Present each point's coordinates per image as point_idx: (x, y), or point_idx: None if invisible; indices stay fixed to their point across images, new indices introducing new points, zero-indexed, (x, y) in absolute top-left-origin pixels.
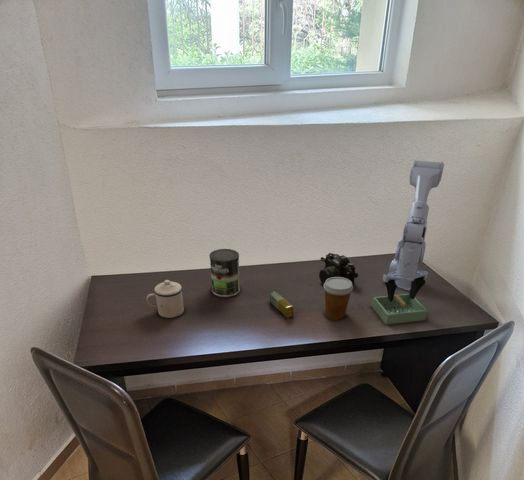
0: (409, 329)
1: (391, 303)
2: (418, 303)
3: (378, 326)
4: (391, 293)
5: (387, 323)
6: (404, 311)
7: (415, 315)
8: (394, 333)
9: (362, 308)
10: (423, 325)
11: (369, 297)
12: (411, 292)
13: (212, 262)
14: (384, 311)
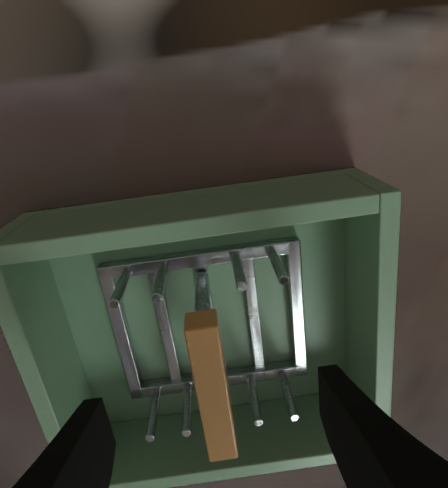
0: (184, 96)
1: (250, 398)
2: (40, 371)
3: (414, 159)
4: (407, 434)
5: (351, 171)
6: (162, 324)
7: (105, 218)
8: (332, 40)
9: (418, 379)
10: (49, 150)
11: (322, 482)
12: (95, 480)
13: None
14: (397, 259)
